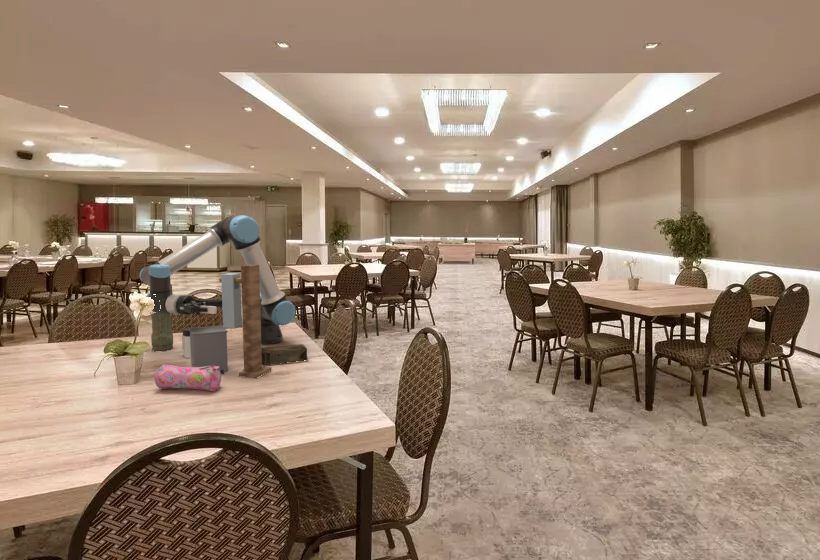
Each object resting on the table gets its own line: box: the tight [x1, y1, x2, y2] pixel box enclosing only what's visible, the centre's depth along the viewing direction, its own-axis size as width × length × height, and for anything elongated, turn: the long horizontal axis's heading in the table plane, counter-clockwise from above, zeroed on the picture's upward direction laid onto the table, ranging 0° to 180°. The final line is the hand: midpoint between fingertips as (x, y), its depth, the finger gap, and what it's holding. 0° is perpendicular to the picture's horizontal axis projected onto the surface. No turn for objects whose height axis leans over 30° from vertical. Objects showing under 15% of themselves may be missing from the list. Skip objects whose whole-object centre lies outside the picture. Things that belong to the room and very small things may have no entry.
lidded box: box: [188, 324, 229, 372], centre depth 199 cm, size 13×13×16 cm
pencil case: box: [153, 363, 225, 392], centre depth 175 cm, size 21×9×9 cm, turn 86°
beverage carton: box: [261, 343, 308, 366], centre depth 211 cm, size 8×19×7 cm, turn 114°
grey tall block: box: [220, 272, 243, 329], centre depth 194 cm, size 5×5×21 cm
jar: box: [181, 326, 198, 359], centre depth 219 cm, size 9×8×12 cm
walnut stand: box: [218, 264, 273, 378], centre depth 193 cm, size 18×10×42 cm, turn 75°
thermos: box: [146, 284, 174, 352], centre depth 229 cm, size 9×12×35 cm
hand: (227, 307), depth 194 cm, fingers open, 13 cm apart
